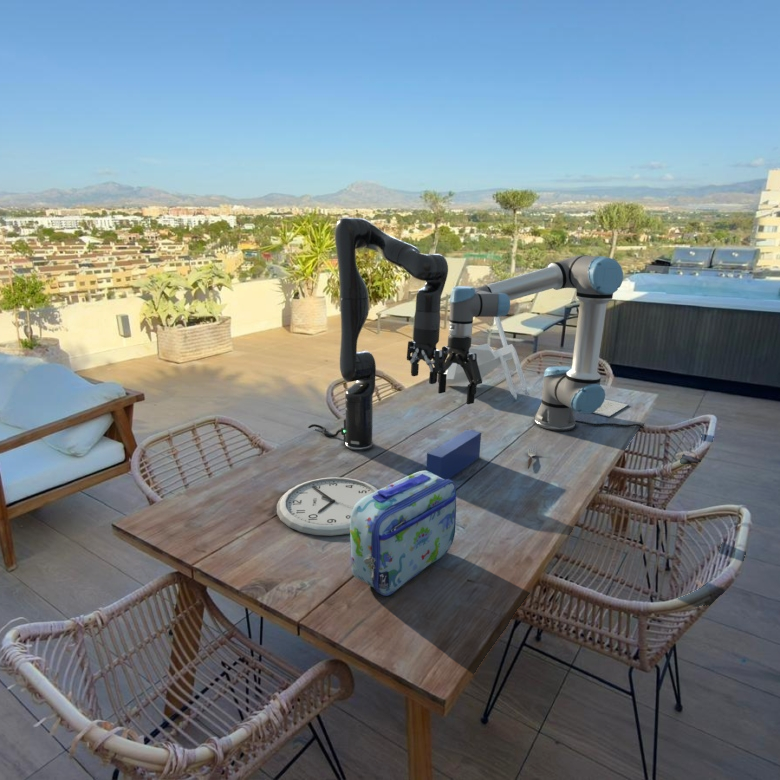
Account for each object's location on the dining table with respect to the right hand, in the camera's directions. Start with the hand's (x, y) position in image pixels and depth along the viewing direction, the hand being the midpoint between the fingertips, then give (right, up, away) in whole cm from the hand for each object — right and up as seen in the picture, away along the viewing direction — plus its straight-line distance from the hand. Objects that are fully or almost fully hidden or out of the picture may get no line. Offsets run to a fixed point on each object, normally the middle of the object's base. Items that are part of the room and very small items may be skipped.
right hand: (455, 398), depth 175 cm
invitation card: (+70, -5, +51) cm, 87 cm away
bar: (-2, -22, -9) cm, 24 cm away
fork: (+24, -21, -2) cm, 32 cm away
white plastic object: (+20, +2, +68) cm, 71 cm away
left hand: (-12, +6, -20) cm, 24 cm away
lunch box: (-19, -37, -58) cm, 72 cm away
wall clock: (-38, -29, -32) cm, 57 cm away
